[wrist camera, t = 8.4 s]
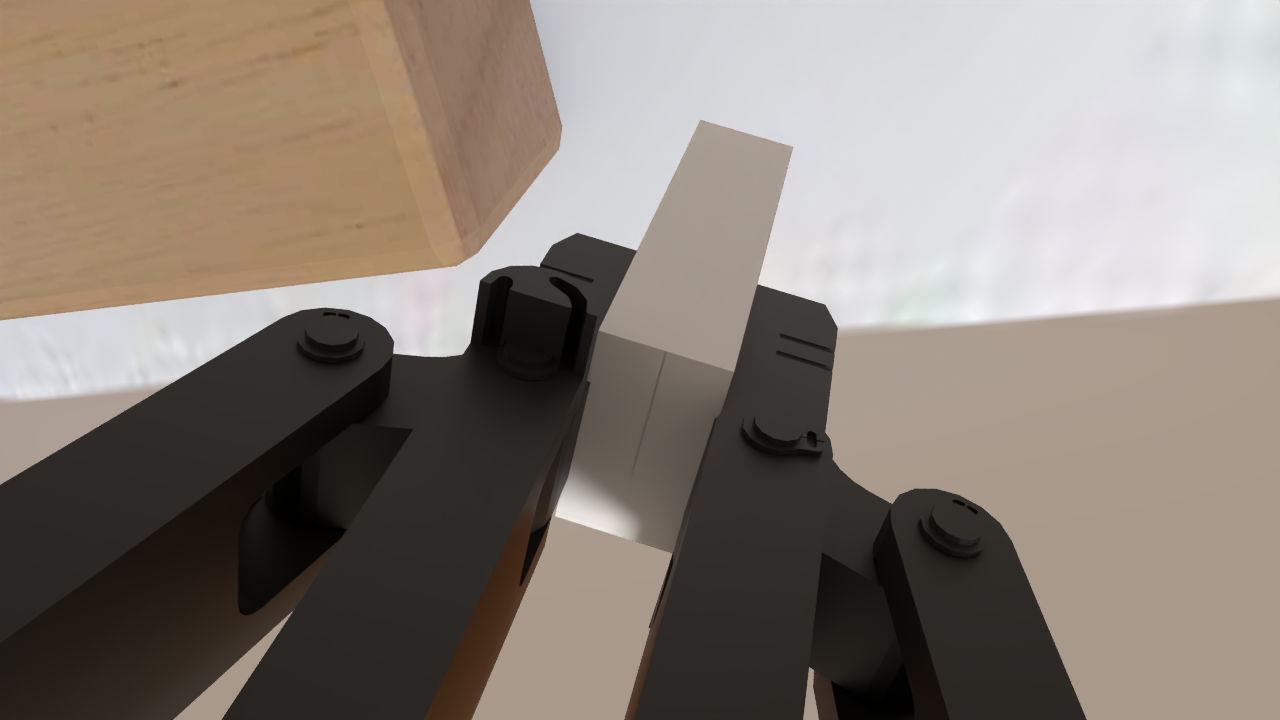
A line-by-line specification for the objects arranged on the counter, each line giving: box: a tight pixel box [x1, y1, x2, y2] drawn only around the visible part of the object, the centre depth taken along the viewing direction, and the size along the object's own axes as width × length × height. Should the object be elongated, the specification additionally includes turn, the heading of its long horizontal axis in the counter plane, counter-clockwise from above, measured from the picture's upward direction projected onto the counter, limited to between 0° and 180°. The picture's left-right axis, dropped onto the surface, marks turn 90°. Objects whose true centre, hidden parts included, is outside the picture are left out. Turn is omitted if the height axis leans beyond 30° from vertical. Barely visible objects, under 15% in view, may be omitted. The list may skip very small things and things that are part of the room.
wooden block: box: [0, 0, 562, 320], centre depth 33 cm, size 10×10×20 cm
